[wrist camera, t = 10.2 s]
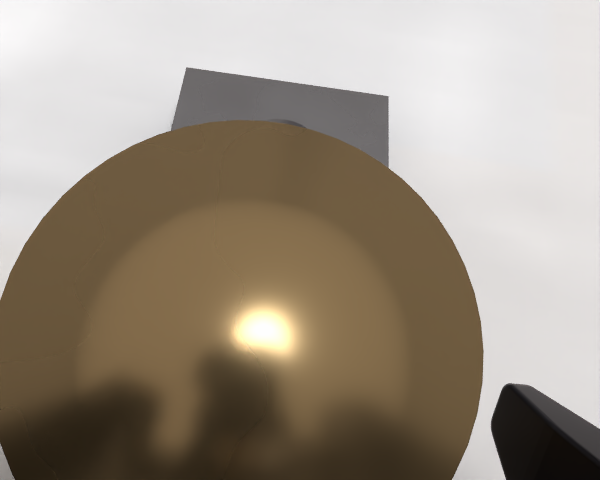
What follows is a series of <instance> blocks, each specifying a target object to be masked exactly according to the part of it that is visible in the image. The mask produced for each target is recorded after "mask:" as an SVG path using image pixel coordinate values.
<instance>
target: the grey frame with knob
mask: <svg viewBox="0 0 600 480" xmlns="http://www.w3.org/2000/svg"><path fill="white" fill-rule="evenodd" d="M231 120H255V121H269V122H276V123H284V124H290V125H294V126H298V127H302V128H307V129H311V130H314V131H317V132H320V133H323V134H326V135H328V136H331V137H334V138H337V139H339V140H341V141H343V142H345V143H347V144H349V145H352V146H354V147H356V148H358V149H360V150H362V151H363V152H365V153H366V154H368V155H370V156H371V157H373V158H374V159H376V160H378V161H379V162H381V163H382V164H384V165H385V166H386V167H388V96H383V95H376V94H369V93H362V92H355V91H348V90H341V89H334V88H327V87H320V86H313V85H306V84H299V83H292V82H285V81H278V80H271V79H264V78H257V77H250V76H243V75H236V74H229V73H222V72H215V71H208V70H201V69H194V68H187V67H186V72H185V76H184V80H183V84H182V88H181V92H180V96H179V100H178V104H177V108H176V112H175V116H174V120H173V124H172V128H171V131H173V130H176V129H179V128H183V127H187V126H192V125H198V124H203V123H208V122H218V121H231Z"/></svg>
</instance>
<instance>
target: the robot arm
mask: <svg viewBox="0 0 600 480" xmlns="http://www.w3.org/2000/svg"><path fill="white" fill-rule="evenodd" d="M491 431H492V435H493V439H494V442H495V445H496V448H497V452H498V455H499V458H500V461H501V465H502V468H503V471H504V474H505V478H506V480H600V429H599V428H597V427H596V426H594V425H592V424H591V423H589V422H588V421H586V420H584V419H583V418H581V417H580V416H578V415H576V414H575V413H573V412H572V411H570V410H568V409H567V408H565V407H564V406H562V405H560V404H559V403H557V402H556V401H554V400H552V399H551V398H549V397H548V396H546V395H544V394H543V393H541V392H540V391H538V390H536V389H535V388H533V387H531V386H529V385H523V384H512V383H508V384H506V385H505V386H504V387H503V388H502V391H501V393H500V396H499V399H498V402H497V405H496V408H495V411H494V413H493V416H492V420H491Z"/></svg>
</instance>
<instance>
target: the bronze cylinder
mask: <svg viewBox="0 0 600 480" xmlns="http://www.w3.org/2000/svg"><path fill="white" fill-rule="evenodd" d="M482 379H483V341H482V331H481V321H480V316H479V312H478V307H477V302H476V298H475V293H474V290H473V287H472V284H471V282H470V279H469V276H468V273H467V270H466V267H465V265H464V263H463V261H462V259H461V257H460V255H459V253H458V251H457V249H456V247H455V244H454V242H453V240H452V239H451V237H450V236H449V234H448V233H447V231H446V230H445V228H444V227H443V225H442V223H441V222H440V220H439V219H438V217H437V216H436V215H435V214H434V212H433V211H432V210H431V209H430V208H429V206H428V205H427V204H426V203H425V201H424V200H423V199H422V198H421V197H420V196H419V195H418V194H417V193H416V192H415V191H414V190H413V189H412V188H411V187H410V186H409V185H408V184H407V183H406V182H405V181H404V180H403V179H402V178H400V177H399V176H398V175H397V174H395V173H394V172H393V171H391V170H390V169H389V168H388V167H386V166H385V165H384V164H382V163H381V162H379V161H378V160H376V159H374V158H373V157H371V156H370V155H368V154H366V153H365V152H363V151H362V150H360V149H358V148H356V147H354V146H352V145H349V144H347V143H345V142H343V141H341V140H339V139H337V138H334V137H331V136H328V135H326V134H323V133H320V132H317V131H314V130H311V129H307V128H302V127H298V126H294V125H290V124H284V123H276V122H269V121H255V120H231V121H218V122H208V123H203V124H198V125H192V126H187V127H183V128H179V129H176V130H173V131H169V132H166V133H163V134H159V135H157V136H154V137H152V138H149V139H147V140H145V141H142V142H140V143H138V144H135V145H133V146H131V147H129V148H127V149H126V150H124V151H122V152H120V153H118V154H117V155H115V156H113V157H111V158H109V159H108V160H106V161H105V162H104V163H102V164H101V165H99V166H98V167H96V168H95V169H94V170H92V171H91V172H89V173H88V174H87V175H85V176H84V177H83V178H82V179H81V180H80V181H78V182H77V183H76V184H75V185H74V186H73V187H72V188H71V189H70V190H68V191H67V192H66V193H65V194H64V195H63V196H62V197H61V198H60V199H59V200H58V202H57V203H56V204H55V205H54V206H53V207H52V208H51V210H50V211H49V212H48V213H47V214H46V215H45V216H44V217H43V219H42V220H41V222H40V223H39V225H38V226H37V227H36V229H35V230H34V232H33V233H32V235H31V236H30V238H29V239H28V241H27V242H26V243H25V245H24V247H23V249H22V251H21V253H20V255H19V257H18V259H17V261H16V263H15V265H14V266H13V268H12V270H11V272H10V275H9V278H8V281H7V283H6V286H5V289H4V292H3V294H2V297H1V300H0V443H1V446H2V449H3V451H4V454H5V456H6V459H7V462H8V464H9V467H10V470H11V472H12V475H13V477H14V478H15V480H452V478H453V476H454V474H455V472H456V470H457V468H458V466H459V463H460V461H461V459H462V457H463V455H464V452H465V450H466V448H467V446H468V443H469V439H470V436H471V433H472V429H473V426H474V423H475V420H476V416H477V412H478V406H479V400H480V394H481V388H482Z"/></svg>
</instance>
